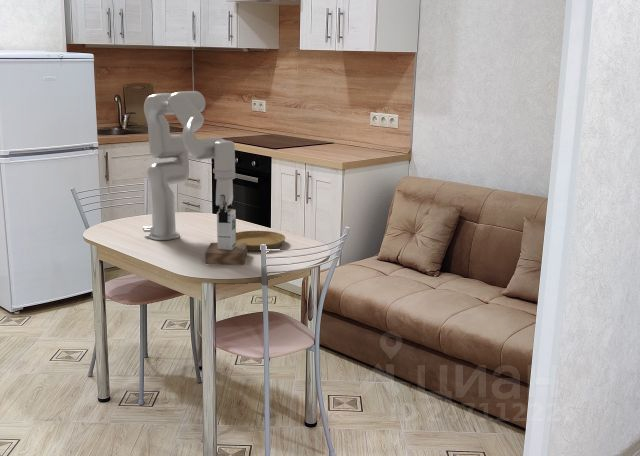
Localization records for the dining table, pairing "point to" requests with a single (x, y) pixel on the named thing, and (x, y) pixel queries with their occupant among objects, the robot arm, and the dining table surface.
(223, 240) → the syrup box
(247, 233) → the plant saucer
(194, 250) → the dining table surface
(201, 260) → the dining table surface
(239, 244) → the walnut block
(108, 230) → the dining table surface
